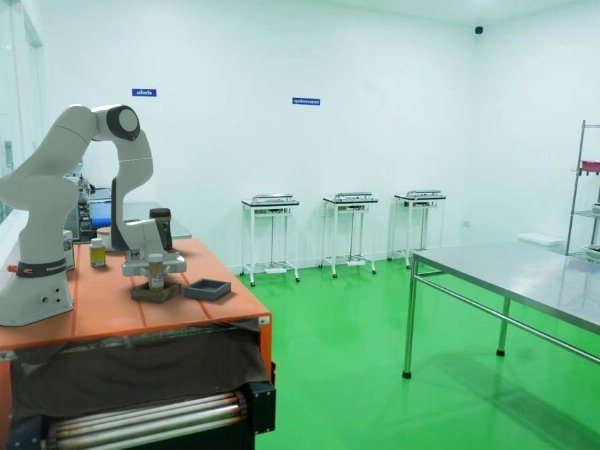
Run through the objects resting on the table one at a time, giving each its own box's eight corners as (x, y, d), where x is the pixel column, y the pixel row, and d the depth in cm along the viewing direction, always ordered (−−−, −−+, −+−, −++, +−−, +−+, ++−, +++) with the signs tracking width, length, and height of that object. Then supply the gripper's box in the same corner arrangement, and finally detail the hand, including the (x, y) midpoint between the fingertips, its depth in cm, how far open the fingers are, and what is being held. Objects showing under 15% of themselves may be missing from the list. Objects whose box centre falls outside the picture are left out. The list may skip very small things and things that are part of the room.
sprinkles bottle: (158, 298, 142) (156, 257, 139) (146, 296, 143) (144, 255, 141) (167, 294, 146) (166, 254, 143) (155, 292, 147) (154, 252, 145)
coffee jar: (170, 245, 210) (169, 206, 206) (174, 249, 203) (173, 209, 200) (148, 247, 205) (147, 207, 202) (151, 251, 199) (150, 210, 195)
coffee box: (146, 261, 183) (145, 222, 180) (130, 263, 180) (128, 223, 176) (140, 256, 190) (139, 218, 187) (124, 258, 187) (122, 219, 184)
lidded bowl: (94, 253, 194) (92, 227, 191) (102, 246, 206) (100, 222, 204) (125, 252, 196) (123, 227, 193) (131, 245, 208) (130, 222, 206)
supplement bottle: (107, 265, 176) (106, 239, 174) (92, 267, 173) (91, 241, 171) (103, 262, 180) (102, 237, 178) (88, 264, 177) (87, 238, 175)
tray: (214, 301, 141) (214, 292, 140) (184, 296, 144) (183, 287, 144) (231, 290, 151) (231, 282, 150) (202, 286, 154) (202, 278, 154)
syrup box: (65, 272, 166) (62, 233, 163) (51, 270, 167) (48, 232, 164) (75, 267, 171) (73, 230, 169) (61, 266, 173) (59, 229, 170)
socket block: (160, 303, 138) (160, 294, 137) (131, 298, 141) (130, 289, 141) (181, 292, 148) (181, 283, 147) (153, 288, 151) (152, 279, 151)
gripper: (120, 255, 151) (120, 266, 138) (183, 251, 158) (188, 261, 145) (121, 273, 152) (121, 286, 139) (183, 269, 159) (188, 280, 146)
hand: (156, 273), depth 142 cm, fingers closed on sprinkles bottle, 4 cm apart
